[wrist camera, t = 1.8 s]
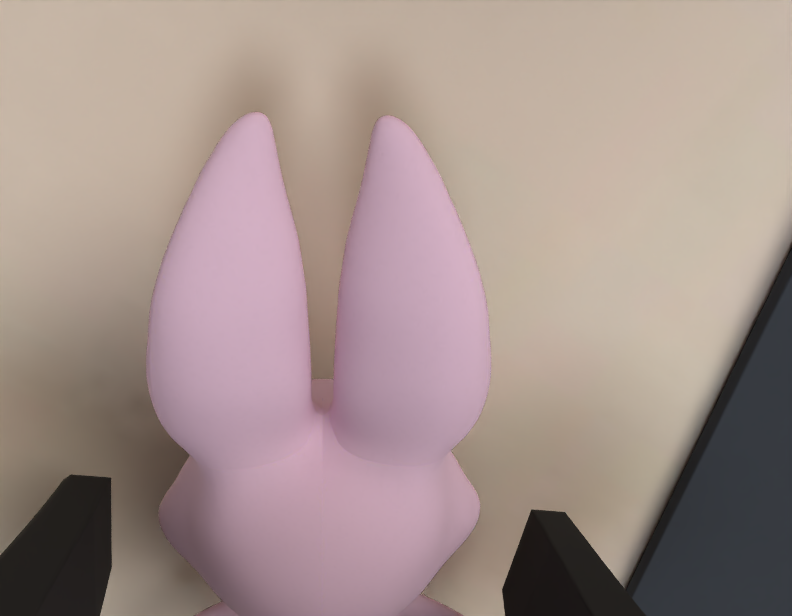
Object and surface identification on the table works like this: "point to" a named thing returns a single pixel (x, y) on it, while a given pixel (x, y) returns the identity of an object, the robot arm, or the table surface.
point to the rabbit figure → (318, 387)
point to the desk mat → (733, 491)
